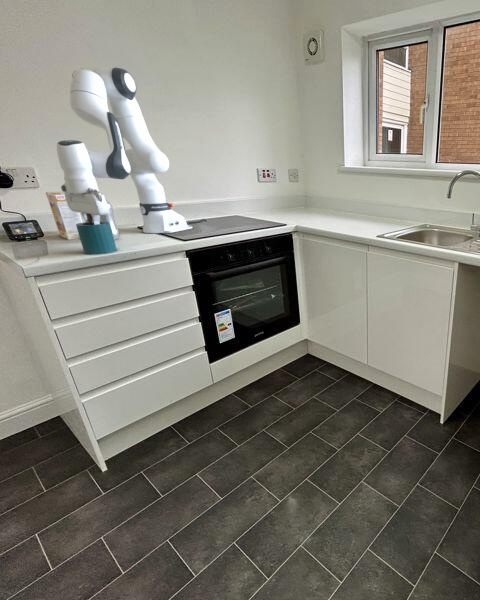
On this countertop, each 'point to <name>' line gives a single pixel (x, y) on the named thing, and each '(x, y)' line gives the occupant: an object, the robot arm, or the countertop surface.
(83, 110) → the robot arm
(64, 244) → the countertop surface
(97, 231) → the teal pot
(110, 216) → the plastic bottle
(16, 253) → the countertop surface
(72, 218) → the coffeecake box
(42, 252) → the countertop surface
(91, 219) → the brush
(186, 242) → the countertop surface
